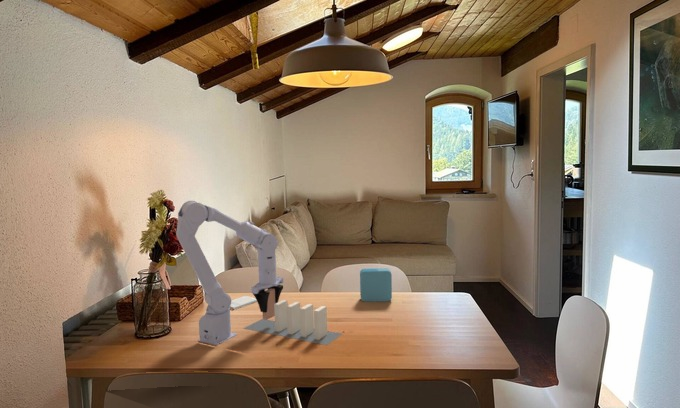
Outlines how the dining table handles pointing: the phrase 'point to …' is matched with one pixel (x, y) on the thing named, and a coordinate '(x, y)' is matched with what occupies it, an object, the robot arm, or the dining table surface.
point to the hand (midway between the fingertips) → (269, 309)
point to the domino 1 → (270, 305)
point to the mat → (269, 328)
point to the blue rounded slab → (375, 285)
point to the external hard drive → (242, 302)
